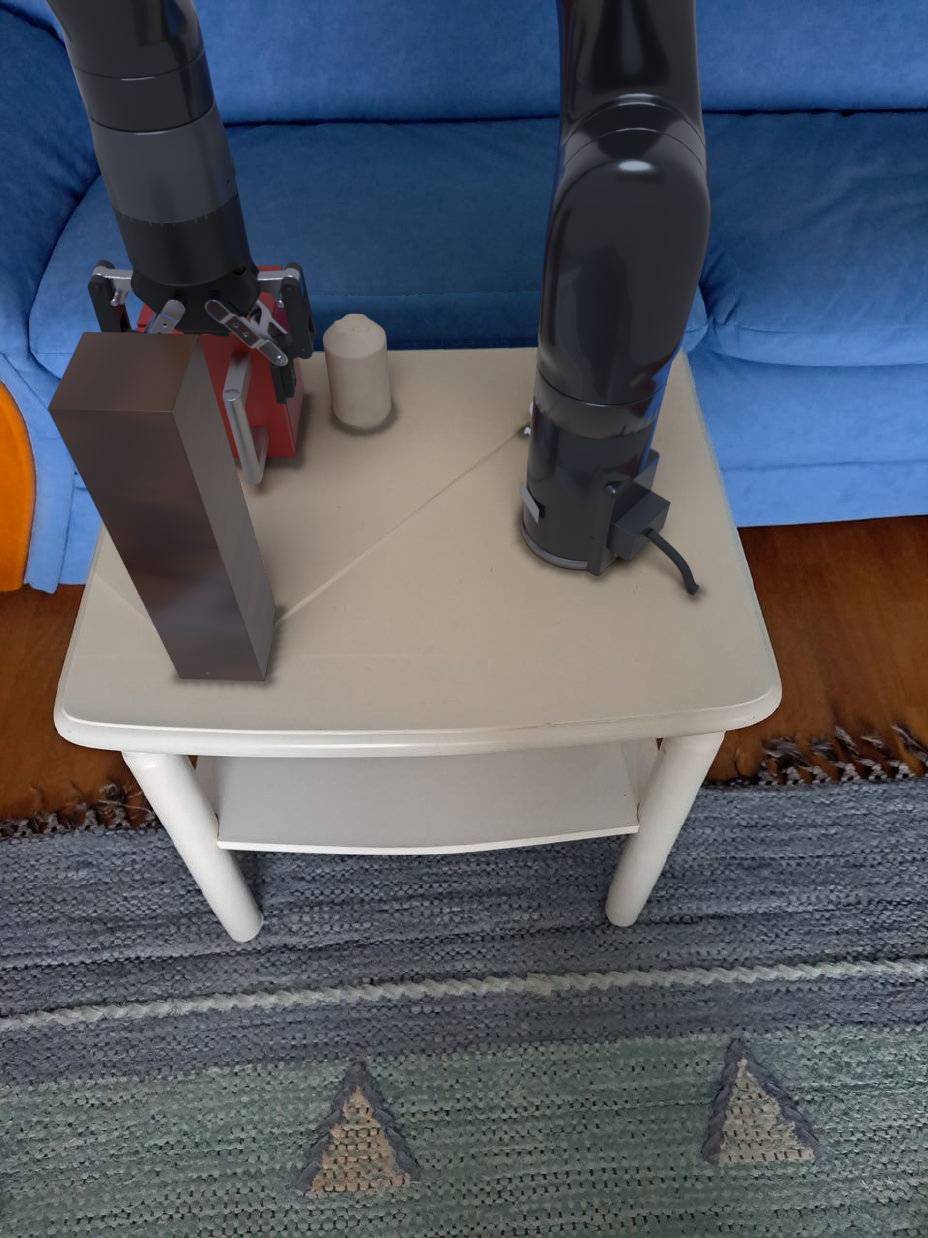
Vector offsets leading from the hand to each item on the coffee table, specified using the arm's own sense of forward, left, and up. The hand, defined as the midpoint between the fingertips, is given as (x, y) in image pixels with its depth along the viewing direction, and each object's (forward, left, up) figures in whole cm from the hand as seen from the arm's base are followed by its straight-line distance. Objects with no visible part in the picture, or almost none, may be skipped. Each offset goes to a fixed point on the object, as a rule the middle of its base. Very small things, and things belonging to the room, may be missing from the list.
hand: (227, 397), depth 65 cm
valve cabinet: (+9, -6, -13) cm, 17 cm away
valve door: (+4, -1, -12) cm, 13 cm away
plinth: (-9, +11, -13) cm, 19 cm away
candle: (+2, -15, -13) cm, 20 cm away
